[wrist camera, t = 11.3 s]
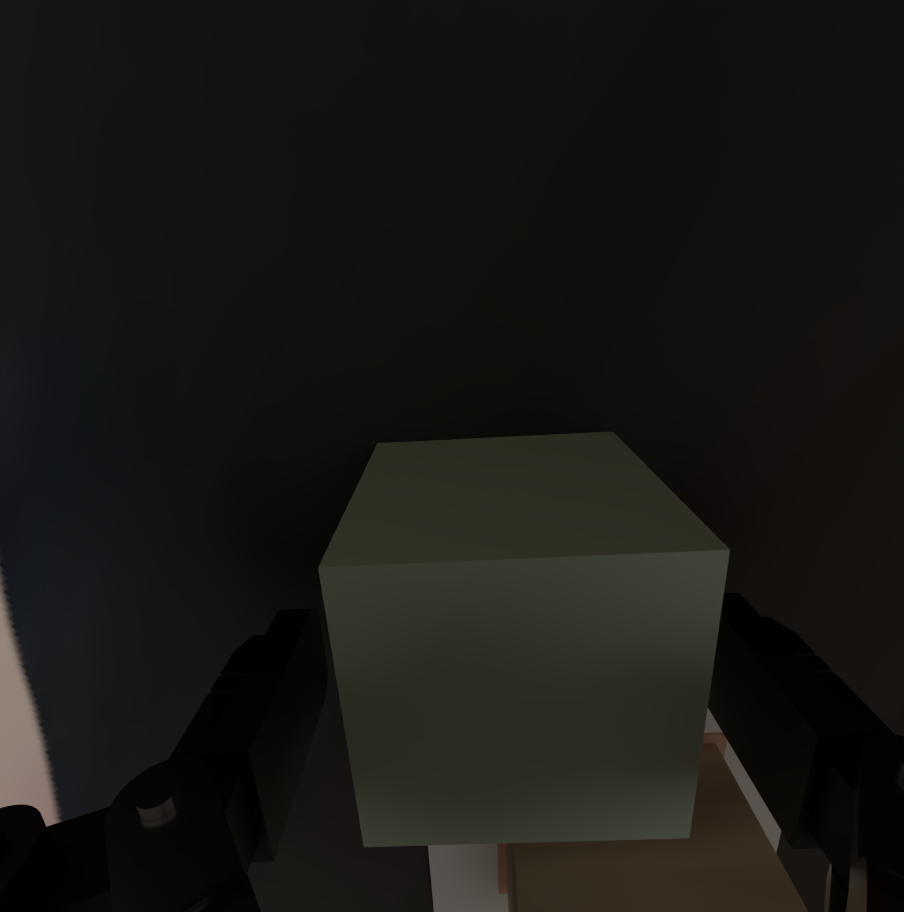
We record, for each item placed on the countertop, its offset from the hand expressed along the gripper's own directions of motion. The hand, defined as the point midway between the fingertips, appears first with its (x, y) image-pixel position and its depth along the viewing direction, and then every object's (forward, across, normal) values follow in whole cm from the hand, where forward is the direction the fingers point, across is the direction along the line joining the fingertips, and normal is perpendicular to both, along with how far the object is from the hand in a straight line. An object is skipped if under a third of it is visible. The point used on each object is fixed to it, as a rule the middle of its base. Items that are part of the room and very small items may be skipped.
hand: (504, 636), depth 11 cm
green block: (+4, 0, 0) cm, 4 cm away
